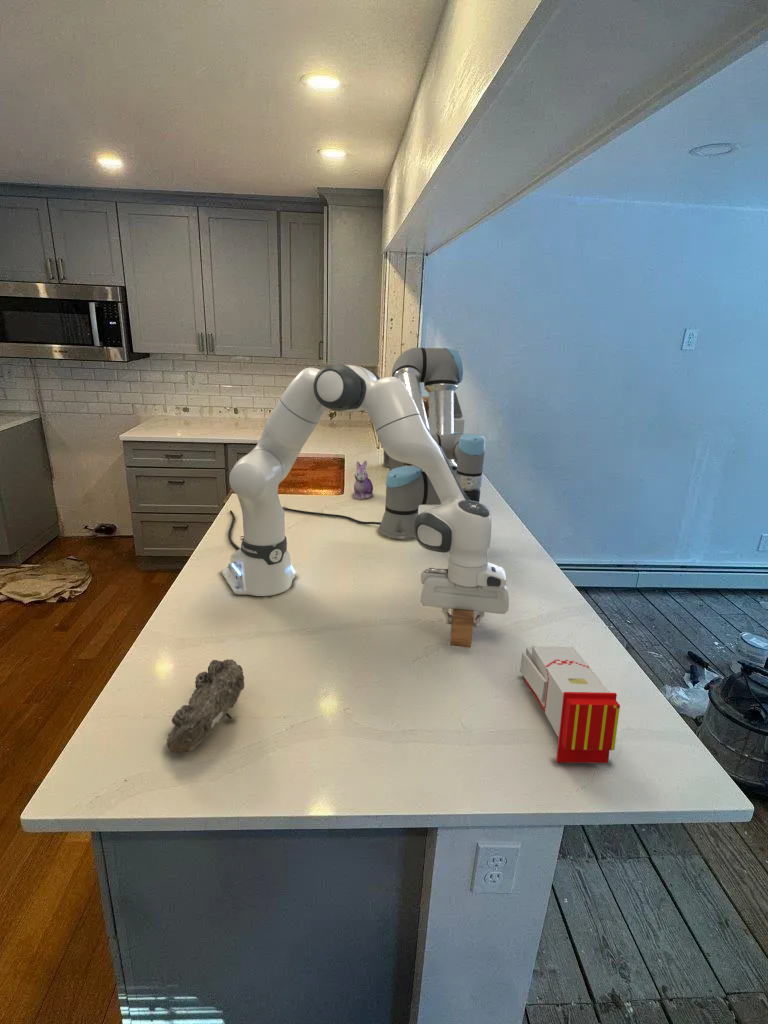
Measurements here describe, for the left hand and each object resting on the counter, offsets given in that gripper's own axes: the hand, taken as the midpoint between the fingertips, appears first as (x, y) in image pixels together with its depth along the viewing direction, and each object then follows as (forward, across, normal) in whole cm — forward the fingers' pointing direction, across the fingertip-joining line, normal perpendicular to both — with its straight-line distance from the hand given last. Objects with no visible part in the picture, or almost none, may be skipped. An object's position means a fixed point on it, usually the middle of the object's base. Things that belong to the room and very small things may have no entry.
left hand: (461, 624), depth 134 cm
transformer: (+5, -20, +147) cm, 148 cm away
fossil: (+5, -47, -35) cm, 59 cm away
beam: (+3, 0, +22) cm, 22 cm away
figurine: (+5, -41, +104) cm, 112 cm away
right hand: (+2, 0, +43) cm, 43 cm away
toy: (+5, +20, -21) cm, 29 cm away
